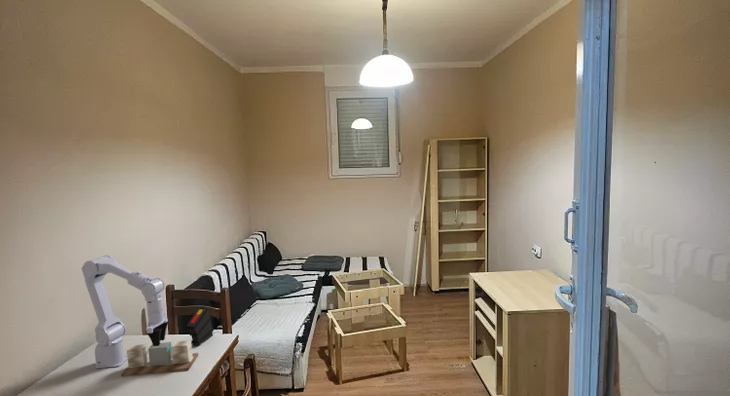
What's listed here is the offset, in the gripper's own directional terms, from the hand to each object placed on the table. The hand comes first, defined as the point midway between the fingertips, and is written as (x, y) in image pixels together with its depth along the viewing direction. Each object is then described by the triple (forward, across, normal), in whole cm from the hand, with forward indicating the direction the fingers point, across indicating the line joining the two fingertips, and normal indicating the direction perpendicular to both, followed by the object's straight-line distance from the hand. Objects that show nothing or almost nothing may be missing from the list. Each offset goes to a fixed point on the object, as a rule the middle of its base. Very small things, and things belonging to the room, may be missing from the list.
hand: (159, 342), depth 163 cm
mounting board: (+9, 0, 0) cm, 9 cm away
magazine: (+10, +19, -10) cm, 24 cm away
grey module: (+8, 0, 0) cm, 8 cm away
